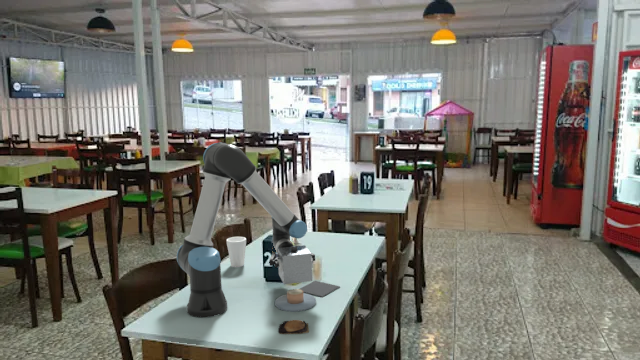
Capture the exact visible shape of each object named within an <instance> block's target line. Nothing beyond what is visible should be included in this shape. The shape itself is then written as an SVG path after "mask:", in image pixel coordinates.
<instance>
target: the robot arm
mask: <svg viewBox="0 0 640 360" xmlns="http://www.w3.org/2000/svg"><path fill="white" fill-rule="evenodd" d="M202 158H203V159H202V160H203V163H204V165H203V169H202V174H203V175H204V180H203V183H202V188H201V190H200V191H201V192H200V194H199V199H198V202H197V207H196V211H195V213H194V216H193V221H192V226H191V229H190V233H189V235H187V236H185V237H184V240H183V244H182V245H180V246H179V248H178V249H177V252H176V261H177V264H178V266H179V267H180V269H181V270H182V271H183V272H185V273H186V274H187V276H189V286H190V294H189V298H188V303H187V304H186V312H187V313H186V314H187V315H189V316H190V317H193V318H210V317H211V318H213V317H215V316H216V317H217V316H219V315H221V314H223V313H225V312H226V311H227V309H228V300H227V299H226V297H225V294H224V291H223V287H222V270H221V268H222V267H221V261H222V260H221V255H220V251H218V250H217V249H216V248H214V243H213V241H212V236H213V233H214V229H215V224H216V221H217V218H218V213H219V210H220V207H221V204H222V198H223V196H224V192H225V188H226V184H227V182H230V181H231V179H232V180H234V182H235V183H236V184H238V185H242V187H244V188H245V189H246V190H247V192H248V193H249V194H250V195H251V196H252V197H253V198H254V199H255V200H256V202H258V203H259V205H261V206H262V207H263V209H264V210H265V211H266V212H267V213H268V214H269V216H271V224H272V227H271V228H272V238H271V244H272V243H273V246H274V248H275V250H276V252H277V253H275V252H273V251H272V252H271V256H270V258H269V266H270V267H272V266H274V268H275V269H276V268H278V270H279V269H280V271H283V266H282V263H281V261H280V259H279V258H278V248H284V247H291V246H295V245H294V244H293V243H292V242H291V241H290V238H292V239H293V238H295V239H301V238H303V237H305V236H306V234H307V232H308V226H307V223H306V222H305V221H303V220H301V219H299V217H297V216H296V214H295V213H294V212H293V211H292V210H291V209H290V208H289V206H288V205H287V204H286V203H285V202H284V201H283V200H282V199H281V198H280V196H279V195H278V194H277V193H276V192H275V191H274V190H273V188H272V187H271V186H270V185H269V184H268V183H267V182H266V181H265V179H264V178H263V177H262V176H261V175H260V174H259V172H257V166H256V165H255V164H254V163H253V162H252V160H251V159H250V158H249V157H248V156H247V154H246V153H245V152H244V151H243V150H242V149H241V148H240V147H238V146H237V145H234V144H228V143H226V142H214V143H212V144H210V145H208V146H207V147H206V149H205V150H204V152H203V156H202ZM273 246H272V247H273ZM311 257H312V269H313V268H314V266H313V265H314V262H315V261H316V254H315V253H312V252H311Z"/></svg>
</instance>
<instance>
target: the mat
mask: <svg viewBox="0 0 640 360" xmlns="http://www.w3.org/2000/svg"><path fill="white" fill-rule="evenodd" d="M340 288H341V286H340V285H335V284H333V283H332V284H331V283H326V282H321V281H319V280H312V281H311V282H310V283H307V284H306V285H304V286H303V287H300V288H299V289H300V290H303V293H304V294H309V295H311V296H314V297H315V296H316V297H320V298H323V297H325V296H327V295H329V294H330V293H332V292H334V291H336V290H337V289H340Z"/></svg>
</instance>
